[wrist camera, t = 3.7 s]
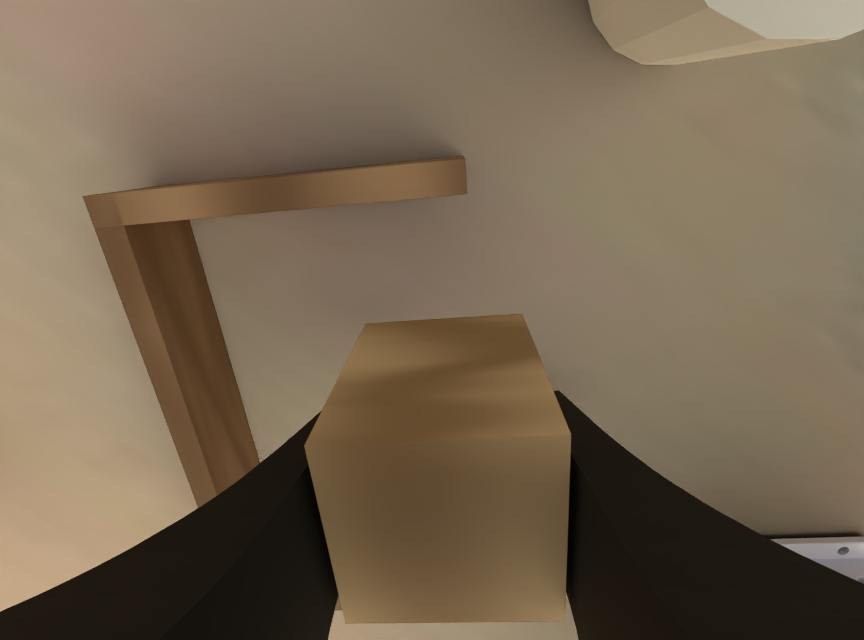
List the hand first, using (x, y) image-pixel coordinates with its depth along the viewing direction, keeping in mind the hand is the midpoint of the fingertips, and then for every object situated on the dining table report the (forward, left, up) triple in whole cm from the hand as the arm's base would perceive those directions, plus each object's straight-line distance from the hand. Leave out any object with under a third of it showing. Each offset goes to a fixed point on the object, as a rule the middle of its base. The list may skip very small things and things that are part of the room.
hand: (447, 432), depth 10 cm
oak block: (0, 0, -2) cm, 2 cm away
